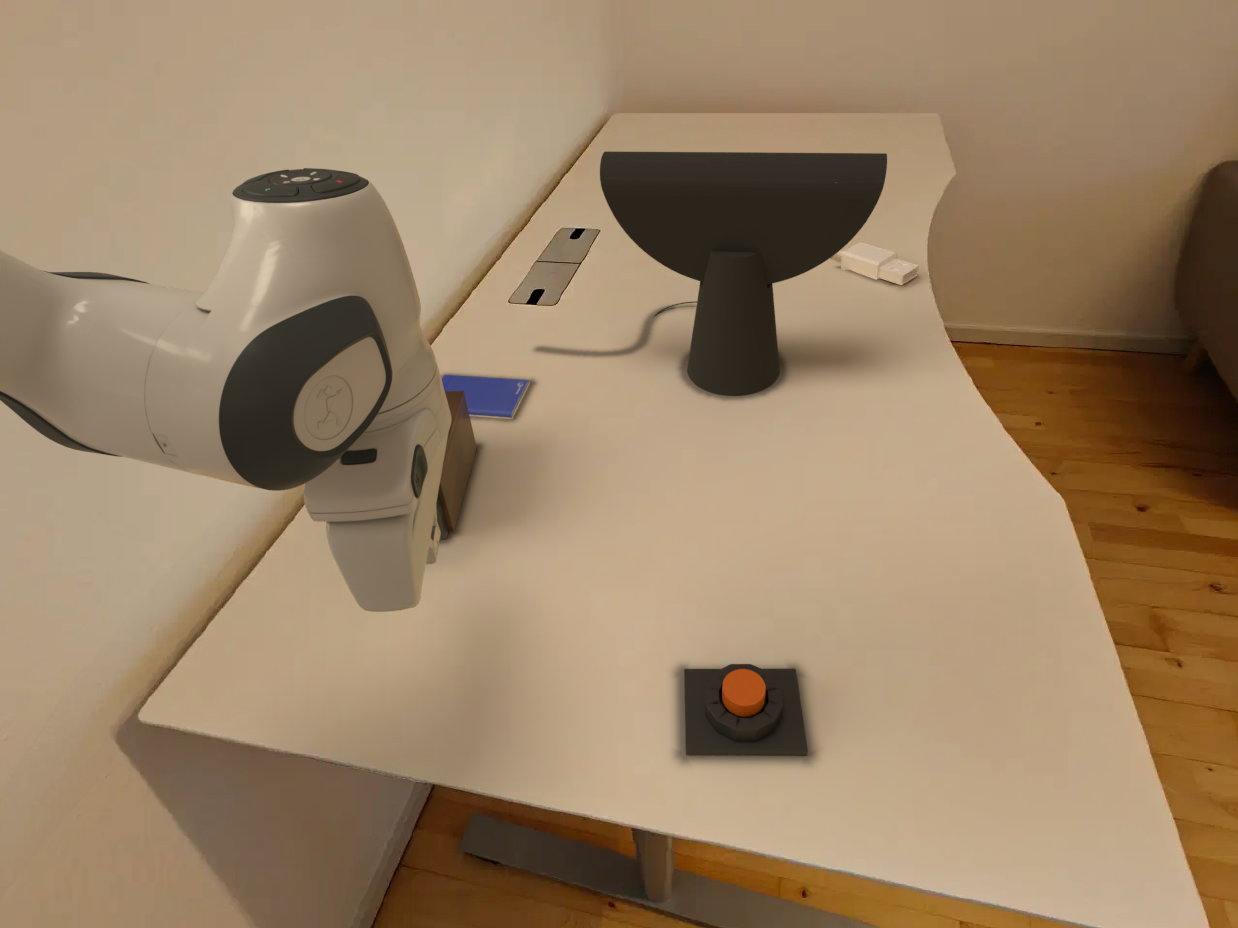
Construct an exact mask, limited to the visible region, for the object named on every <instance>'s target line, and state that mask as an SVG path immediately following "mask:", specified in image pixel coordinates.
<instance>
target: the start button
mask: <svg viewBox="0 0 1238 928" xmlns="http://www.w3.org/2000/svg"><path fill="white" fill-rule="evenodd" d="M765 693H766V686H765V682H764V680H763V679H762V678H761V676H760V675H758V674H757V673H756V672H754V671H751V670H748V669H738V670H734V671H732V672H730V673H729V674H728V675H727V676H726V677H725V679H724V681H723V687H722V700H723V704H724V706H725V707H726V709H727V710H728V711H729V712H731V713H732V714H734V715H736V716H739V717H751V716H754V715H756V714H757V713H759V712H760V711H761V710H762V708H763V706H764V703H765Z"/></svg>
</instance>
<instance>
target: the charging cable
mask: <svg viewBox="0 0 1238 928" xmlns="http://www.w3.org/2000/svg"><path fill="white" fill-rule="evenodd" d="M835 255H838V256H840V258H841V261H840V270H841V271H852V272H854V273H857V274H859V275H861V276H864V277H868V278H869V279H872V280H875V281H877V280H879V279H881V280H883V281H884V280H885V281H887V282H891V283H893V284H897V285H899V286H903V285H904V284H906V283H908V282H909V281H911V280H913V279H914V278H916V277H917V276H919V269H920V265H918V264H915V263H912V262H909V261H906V260H903V259H899V258H898V255H899V254H898V253H897V252H894V251H891V250H888V249H884V248H881V247H878V246H875V245H871V244H868V243H865V242H862V241H860V242H858V243H856V244H854V245H852V246H850V247H848V248H847V249H845V250H842V249H841V250H840V251H839V252H837V253H836V254H835Z"/></svg>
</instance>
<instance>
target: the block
mask: <svg viewBox="0 0 1238 928" xmlns="http://www.w3.org/2000/svg"><path fill="white" fill-rule="evenodd" d="M738 669H748V670H751V671H754V672H756V673H757V674H758V675H760V676H761V678H762V679H763V680H764V682H765V686H766V693H765V703H764V706H763V708H762V710H761V711H760V712H759V713H757V714H756V715H754V716H751V717H739V716H736V715H734V714H732V713H731V712H729V711H728V710H727V709H726V707H725V706H724V704H723V700H722V687H723V681H724V679H725V677H726V676H727V675H728V674H729V673H730V672H732V671H734V670H738ZM797 675H798V674H797V669H796V668H761V667H758V666H757V665H754V664H751V663H730V664H728V665H726V666H724V667H722V668H684V669H683V678H684V679H683V683H684V726H685V727H684V728H685V755H686V756H750V757H751V756H759V757H760V756H763V757H764V756H766V757H768V756H771V757H773V756H774V757H777V756H778V757H780V756H781V757H783V756H784V757H803V756H804V757H806V756H807V755H808V744H807V738H806V730H805V723H804V718H803V717H804V716H803V709H802V702H801V696H800V689H799V681H798V676H797Z"/></svg>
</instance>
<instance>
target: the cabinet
mask: <svg viewBox="0 0 1238 928" xmlns="http://www.w3.org/2000/svg"><path fill="white" fill-rule="evenodd" d="M445 394H446V398H447V401H448V405H449V409H450V413H451V426H450V429H449V433H448V438H447V444H446V450H445V456H444V461H443V467H442V473H441V479H440V485H439V491H438V497H439V500H440V504H441V507H442V511H443V514H444V518H445V521H446V524H447V528H448V533H450V532H455V529H456V526H457V522H458V518H459V514H460V511H461V507H462V504H463V500H464V496H465V493H466V489H467V486H468V482H469V478H470V475H471V471H472V467H473V464H474V461H475V456H476V453H477V449H478V447H477V441H476V437H475V434H474V430H473V425H472V420H471V416H469V412H468V408H467V403H466V399H465V395H464V391H445Z"/></svg>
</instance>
